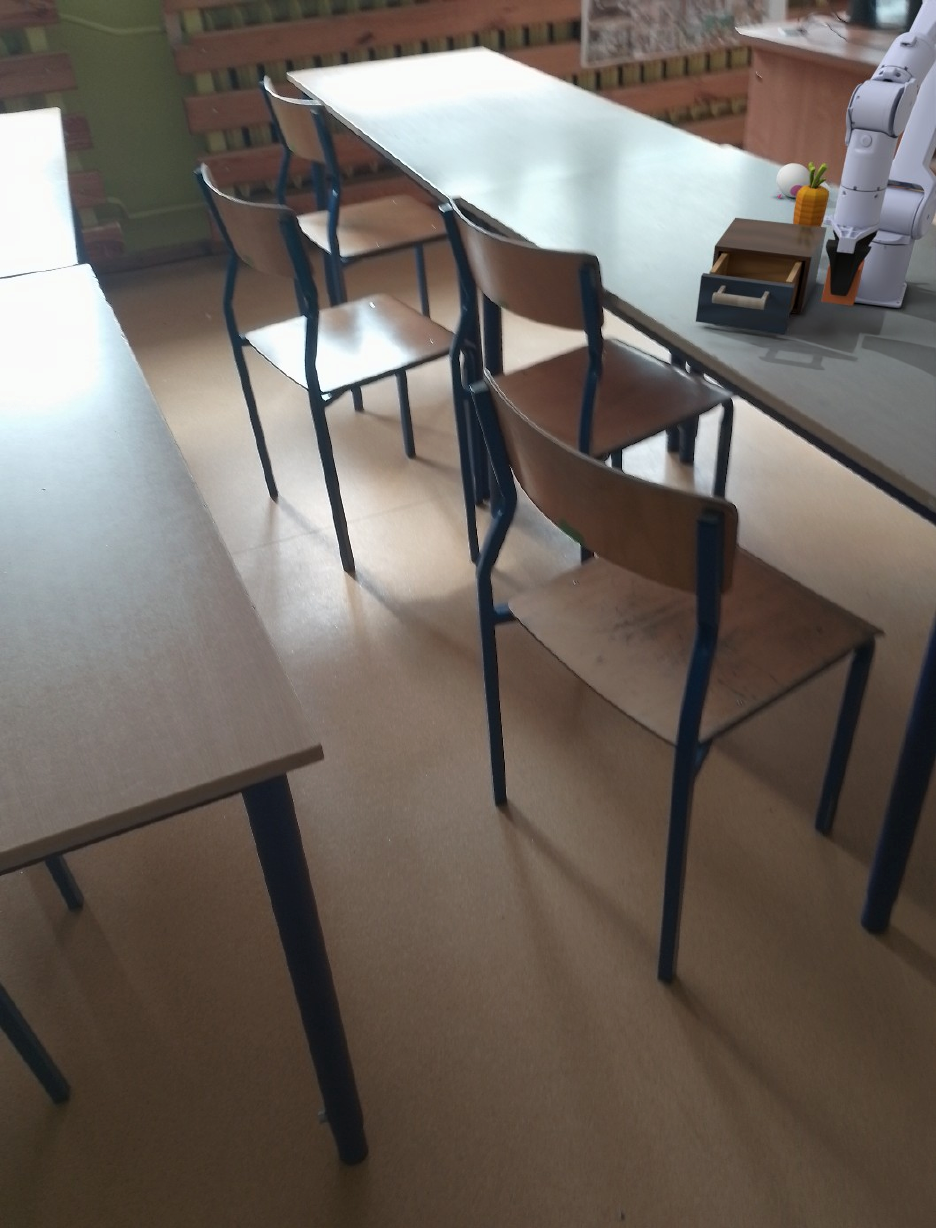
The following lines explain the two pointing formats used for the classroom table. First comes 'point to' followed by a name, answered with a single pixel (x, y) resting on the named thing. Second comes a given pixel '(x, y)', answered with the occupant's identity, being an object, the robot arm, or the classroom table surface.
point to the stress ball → (792, 179)
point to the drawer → (749, 292)
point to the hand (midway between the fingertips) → (841, 288)
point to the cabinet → (777, 247)
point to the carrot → (812, 199)
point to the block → (851, 294)
